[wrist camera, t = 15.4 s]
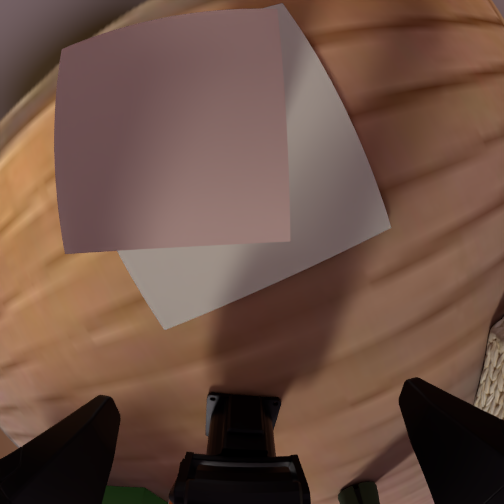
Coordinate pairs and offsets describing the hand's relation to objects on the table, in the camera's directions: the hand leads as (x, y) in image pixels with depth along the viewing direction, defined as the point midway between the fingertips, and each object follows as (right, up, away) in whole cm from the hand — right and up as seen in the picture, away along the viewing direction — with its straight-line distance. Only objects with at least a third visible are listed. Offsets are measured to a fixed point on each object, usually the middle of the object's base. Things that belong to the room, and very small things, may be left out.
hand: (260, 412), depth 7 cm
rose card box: (-2, +10, +10) cm, 14 cm away
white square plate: (-2, +10, +11) cm, 15 cm away
